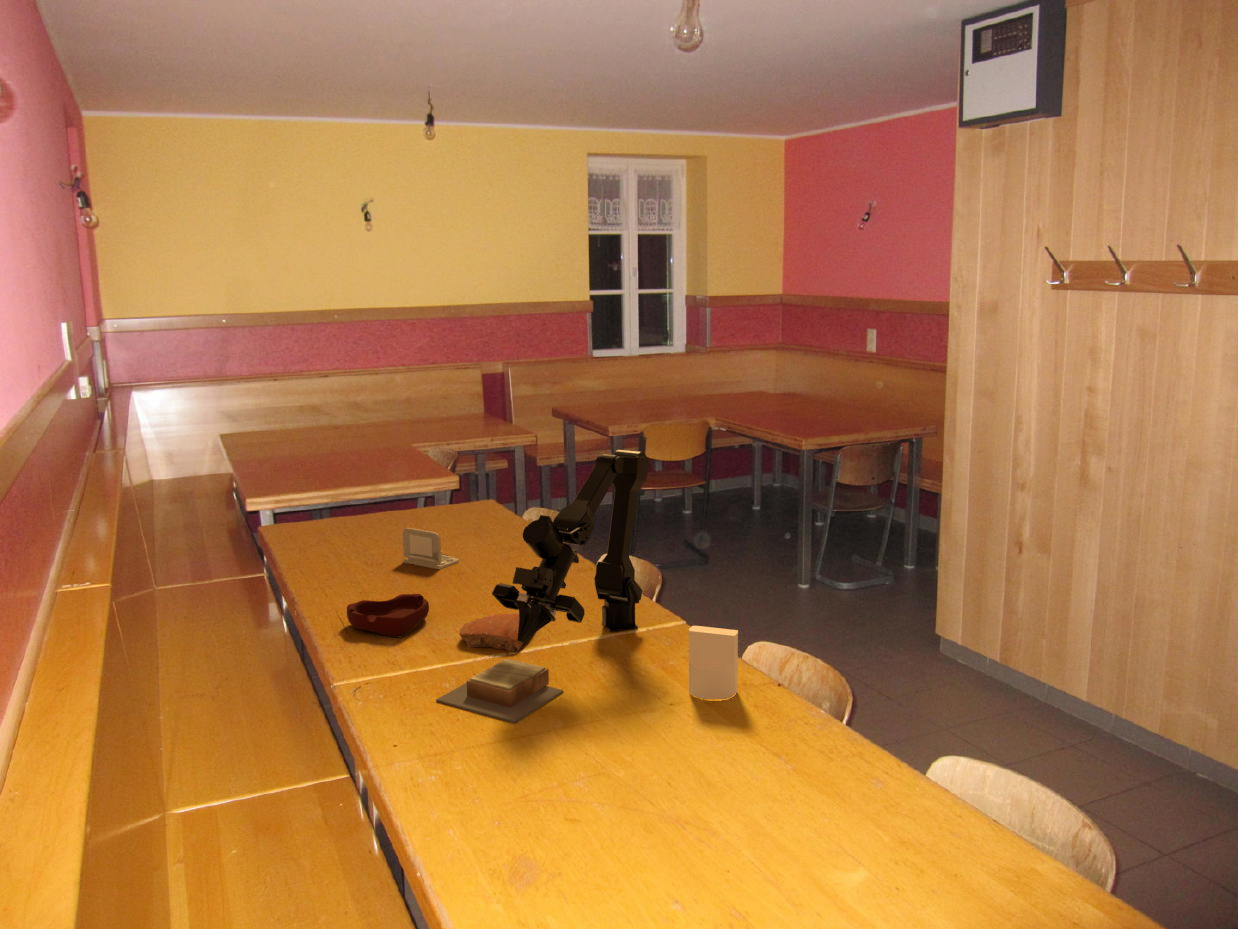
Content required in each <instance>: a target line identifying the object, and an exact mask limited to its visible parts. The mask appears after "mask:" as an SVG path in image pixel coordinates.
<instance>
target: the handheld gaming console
mask: <svg viewBox="0 0 1238 929" xmlns="http://www.w3.org/2000/svg"><path fill="white" fill-rule="evenodd" d="M402 542H403V543H402V546H403V557H404V558H406V559H404V558H403V560H402V563H403V564H408V565H412V564H414V565H413V566H418V565H419V567H423V568H428V569H429V568H430V569H433V570H441V569H445V568H447V567H450V566H452V565H456V564H458V563H459V562H460V559H459V558H457V557H452V556H451V555H450V556H449V555H446V554H442V551H441V550H442V548H441V547H442V545H441V544H442V543H441V536H440V534H439V533H438V532H436V531H435V532H434V531H430V530H425V529H424V530H423V529H418V528H413V527H406V528H404V529H403V531H402Z"/></svg>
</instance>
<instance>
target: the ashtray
mask: <svg viewBox="0 0 1238 929" xmlns="http://www.w3.org/2000/svg"><path fill="white" fill-rule="evenodd" d="M429 603H430V602H429V601H428V600H427V599H426V598H424V596H423V595H422V594H420V593H412V594H411V593H408V594H407V593H402V594H398V595H397V596H395V597H393V598H391V599H388V600H370V599H369V600H367V599H364V600H363V599H362V600H359V601H357V602H353V603H349V604H348V605H347V606H346V618H347V620H348V622H349V623H350V625H351V626H352V627H353V628H355V629H357V630H362V631H366V632H371V633H376V634H379V635H383V636H388V637H393V638H401V637H400V636H402V637H405V636H406V635H408V634H409V633H410V632H412V630H414V628H416V627H417V625H418V624H420V623H421V622H422V621H423V620H425V619H426V617H427V616H428V613H429V611H430V604H429Z"/></svg>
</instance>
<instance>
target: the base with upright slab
mask: <svg viewBox="0 0 1238 929" xmlns="http://www.w3.org/2000/svg"><path fill="white" fill-rule="evenodd" d="M738 652H739V630H738V629H728V628H721V627H719V628H718V627H713V626H711V627H710V626H703V625H702V626H700V625H692V626H691V627H689V628H688V693H689V692H690V693H691V694H692V695H694V696H696V697H698V698H702V699H713V700H714V699H727V698H730V697H732V696H733V695H735V693H737V694H738V663H739V662H738V658H739V657H738ZM690 693H689V694H690Z"/></svg>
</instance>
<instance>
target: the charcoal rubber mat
mask: <svg viewBox="0 0 1238 929" xmlns="http://www.w3.org/2000/svg"><path fill="white" fill-rule="evenodd" d="M563 693H564V689H560V688H556V687H552V686H548V685H546V686H545V687H543V688H541V689H540V690H538V691H537V692H535V693H533V694H532V695H530V696H528V697H527V698H525V699H524V700H522V701H520V702H519V703H517V704H515V705H514V706H512V707H506V706H503V705H499V704H495V703H492V702H488V701H484V700H480V699H477V698H473V697H469V696H467V682H465V683H464V684H462V685H460V686H458V687H456V688H455V689H452V690H451V691H449V692H447V693H445V694H443V695H442V696H440V697H437V698H436V699H435V701H436V702H437V703H441V704H445V705H448V706H451V707H455V708H459V709H462V710H466V711H469V712H473V713H475V714H476V713H477V714H480V715H484V716H488V717H491V718H494V719H498V720H502V721H505V722H507V723H508V722H509V723H512V724H516V723H518V722H519V721H521V720H523V719H525V718H526V717H528V716H529V715H530V714H531V713H533V712H535V711H537V710H538V709H540V708H541V707H543V706H544V705H546V704H548V703H549V702H550V701H552V700H554V699H555V698H557V697H558V696H560V695H561V694H563Z"/></svg>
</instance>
